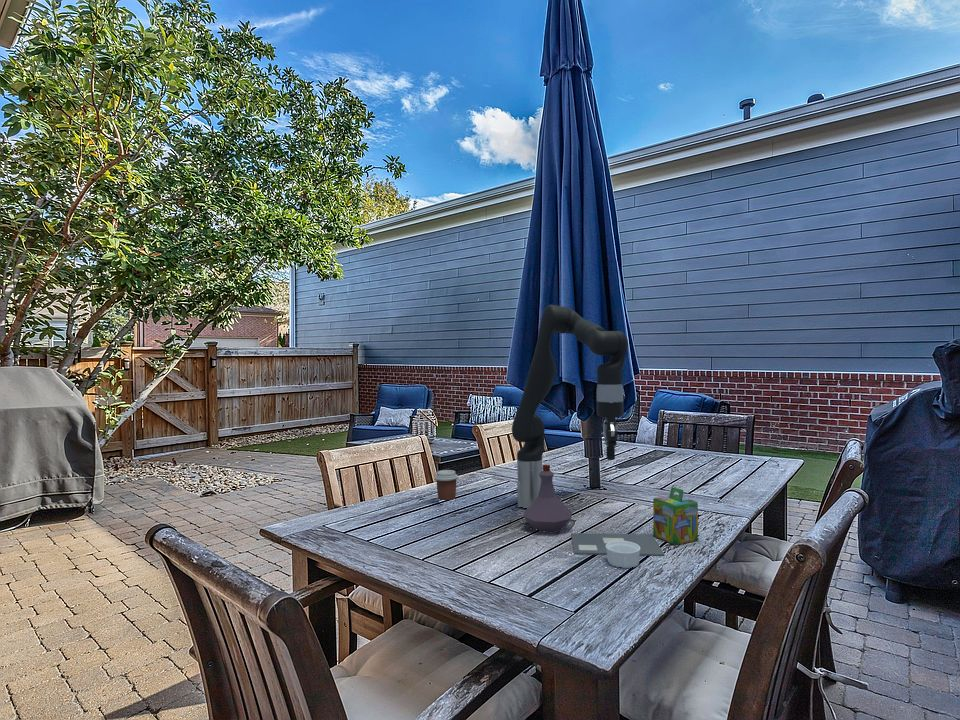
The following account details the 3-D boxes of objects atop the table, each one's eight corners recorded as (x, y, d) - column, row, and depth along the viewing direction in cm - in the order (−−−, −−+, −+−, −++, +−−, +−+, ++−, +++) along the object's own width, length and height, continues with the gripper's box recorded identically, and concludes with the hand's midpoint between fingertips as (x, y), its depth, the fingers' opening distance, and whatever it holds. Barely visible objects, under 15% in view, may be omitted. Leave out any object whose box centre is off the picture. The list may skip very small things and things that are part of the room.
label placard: (574, 554, 140) (574, 552, 140) (571, 534, 155) (571, 533, 155) (664, 555, 137) (664, 554, 137) (651, 535, 153) (651, 534, 153)
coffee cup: (430, 503, 194) (429, 472, 194) (448, 498, 200) (448, 468, 200) (444, 508, 187) (444, 475, 187) (463, 503, 193) (462, 471, 193)
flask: (529, 538, 153) (527, 472, 153) (517, 521, 169) (515, 461, 169) (581, 534, 155) (579, 469, 156) (564, 518, 172) (562, 459, 172)
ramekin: (634, 572, 127) (633, 555, 127) (600, 564, 132) (600, 548, 132) (645, 560, 134) (645, 544, 134) (613, 553, 139) (612, 538, 139)
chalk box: (652, 536, 152) (651, 487, 152) (676, 531, 156) (674, 483, 156) (675, 546, 144) (674, 494, 144) (699, 541, 147) (698, 490, 147)
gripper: (594, 398, 154) (595, 454, 154) (598, 401, 141) (599, 464, 141) (619, 397, 153) (620, 455, 153) (626, 401, 140) (627, 464, 140)
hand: (610, 459), depth 147 cm, fingers closed
